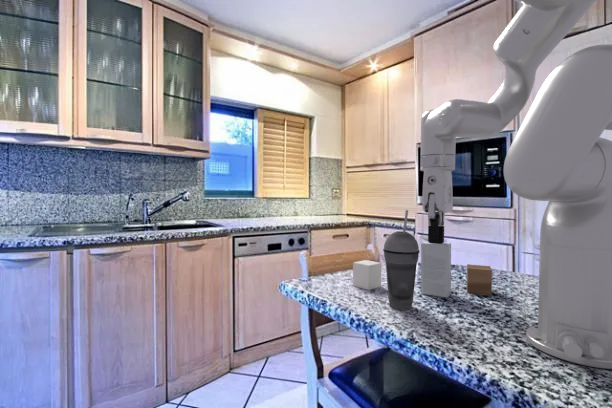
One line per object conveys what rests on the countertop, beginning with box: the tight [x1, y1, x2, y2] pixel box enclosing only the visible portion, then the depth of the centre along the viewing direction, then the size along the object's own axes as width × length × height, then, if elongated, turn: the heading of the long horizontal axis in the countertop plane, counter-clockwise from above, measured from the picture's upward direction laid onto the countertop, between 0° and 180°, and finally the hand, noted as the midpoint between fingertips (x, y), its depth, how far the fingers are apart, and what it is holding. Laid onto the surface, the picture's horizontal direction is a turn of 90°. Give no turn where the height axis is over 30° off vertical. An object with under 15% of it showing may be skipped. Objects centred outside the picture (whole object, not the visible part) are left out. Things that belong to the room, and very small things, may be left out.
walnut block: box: [466, 264, 493, 297], centre depth 79 cm, size 5×5×6 cm
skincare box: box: [420, 241, 452, 299], centre depth 77 cm, size 6×4×12 cm
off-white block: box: [352, 259, 382, 291], centre depth 83 cm, size 5×5×6 cm
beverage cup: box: [383, 209, 421, 311], centre depth 67 cm, size 7×7×20 cm
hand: (435, 242), depth 77 cm, fingers closed
